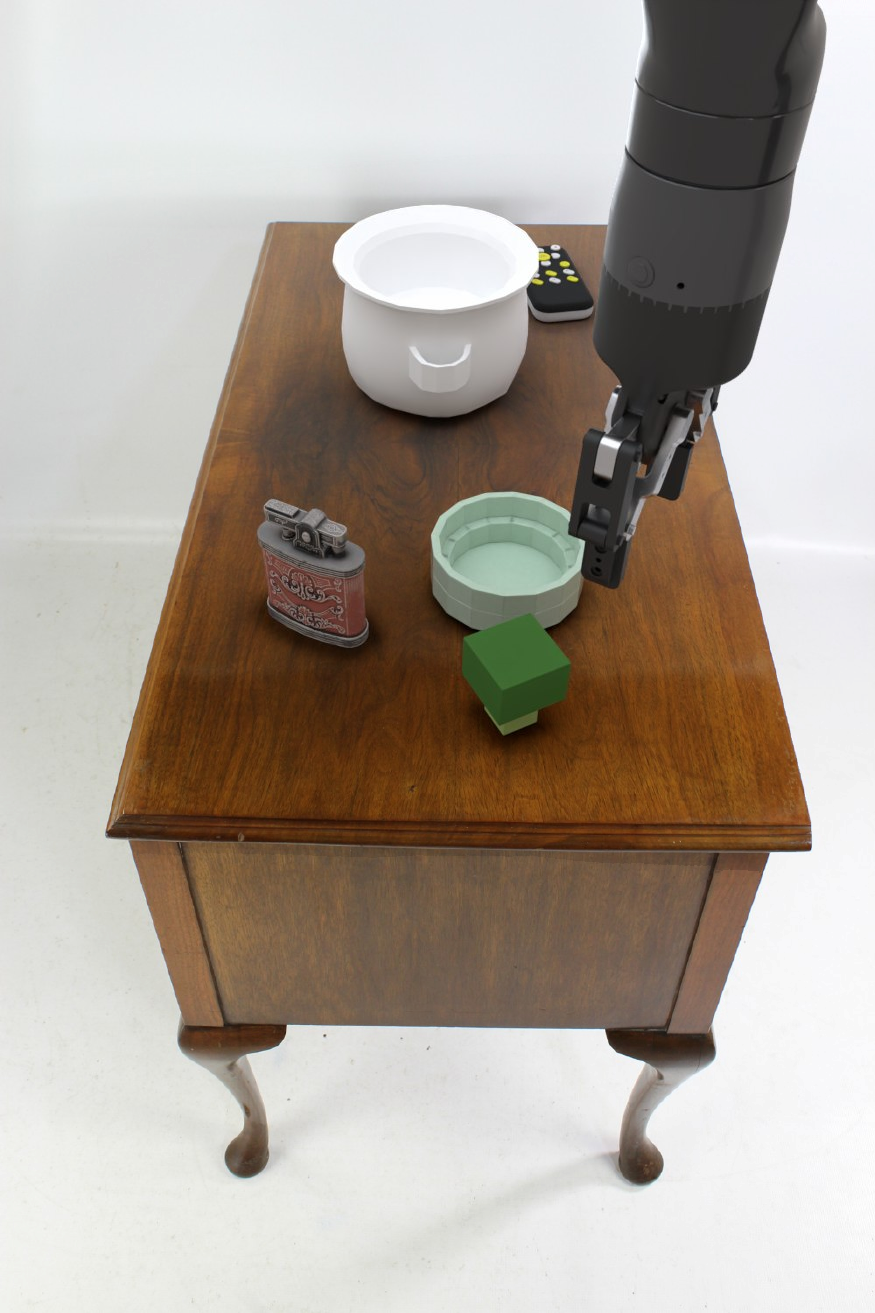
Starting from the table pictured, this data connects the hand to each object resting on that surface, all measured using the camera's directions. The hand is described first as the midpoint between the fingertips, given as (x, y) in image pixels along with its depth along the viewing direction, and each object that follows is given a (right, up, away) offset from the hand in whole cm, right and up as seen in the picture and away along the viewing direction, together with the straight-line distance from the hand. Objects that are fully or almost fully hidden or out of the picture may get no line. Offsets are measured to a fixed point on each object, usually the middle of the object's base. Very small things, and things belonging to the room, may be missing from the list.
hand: (632, 534), depth 59 cm
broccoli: (-6, -11, +13) cm, 18 cm away
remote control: (+1, +31, +51) cm, 59 cm away
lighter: (-19, -4, +18) cm, 27 cm away
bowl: (-6, -1, +21) cm, 22 cm away
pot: (-11, +19, +40) cm, 45 cm away
